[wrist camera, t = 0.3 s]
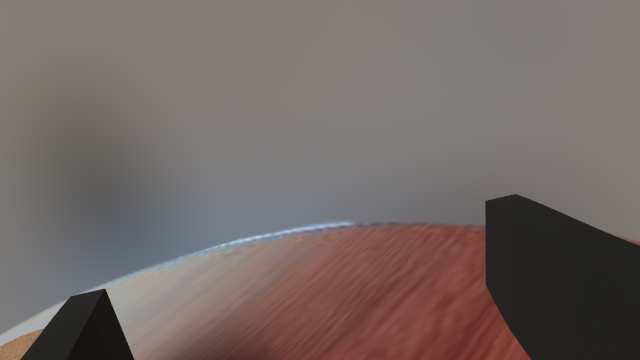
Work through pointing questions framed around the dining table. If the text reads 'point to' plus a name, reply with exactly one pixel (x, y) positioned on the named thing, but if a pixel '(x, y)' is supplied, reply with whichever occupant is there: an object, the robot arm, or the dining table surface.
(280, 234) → the dining table surface
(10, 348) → the lidded jar
